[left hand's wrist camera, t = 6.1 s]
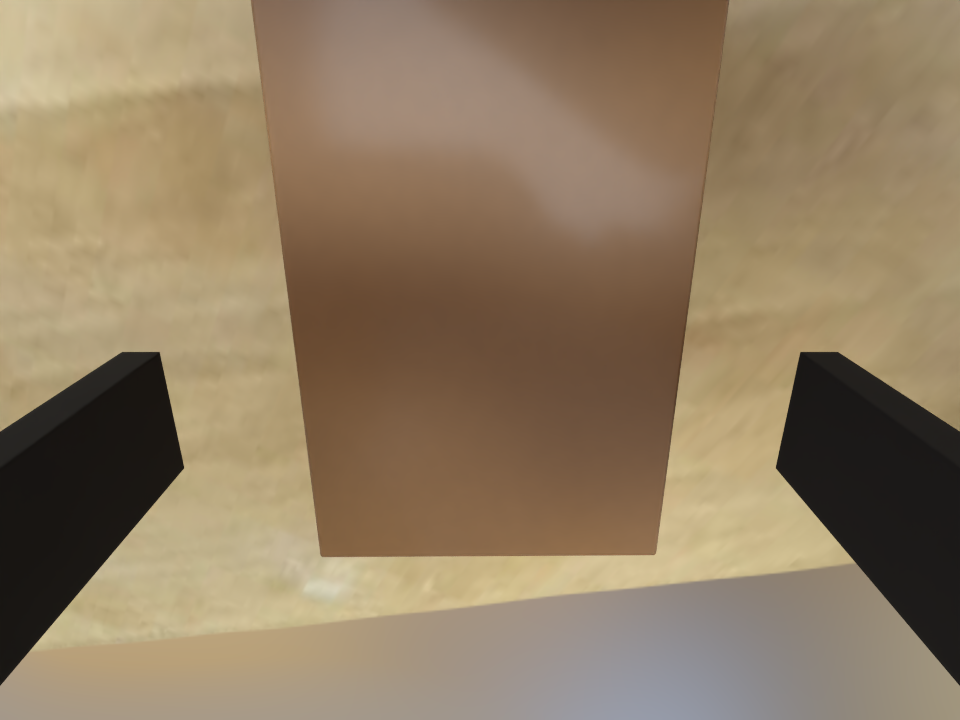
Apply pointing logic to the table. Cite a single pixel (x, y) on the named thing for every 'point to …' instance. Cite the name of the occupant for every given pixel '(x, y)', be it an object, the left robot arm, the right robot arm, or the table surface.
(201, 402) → the table surface
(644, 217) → the box
